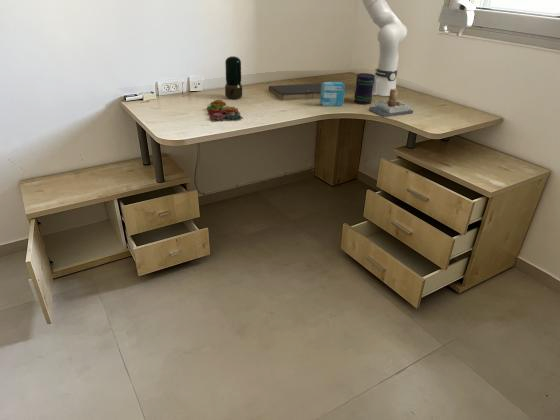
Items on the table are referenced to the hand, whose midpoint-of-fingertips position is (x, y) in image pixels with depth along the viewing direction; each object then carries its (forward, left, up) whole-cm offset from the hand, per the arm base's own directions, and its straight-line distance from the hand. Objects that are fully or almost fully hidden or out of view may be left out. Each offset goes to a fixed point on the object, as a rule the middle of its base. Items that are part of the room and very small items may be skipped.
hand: (451, 34), depth 223 cm
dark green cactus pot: (-50, -103, -37) cm, 120 cm away
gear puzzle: (-27, -117, -38) cm, 126 cm away
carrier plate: (+2, -34, -37) cm, 50 cm away
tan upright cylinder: (+2, -34, -36) cm, 49 cm away
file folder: (-45, -62, -38) cm, 86 cm away
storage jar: (-18, -38, -37) cm, 56 cm away
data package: (-19, -58, -37) cm, 71 cm away
